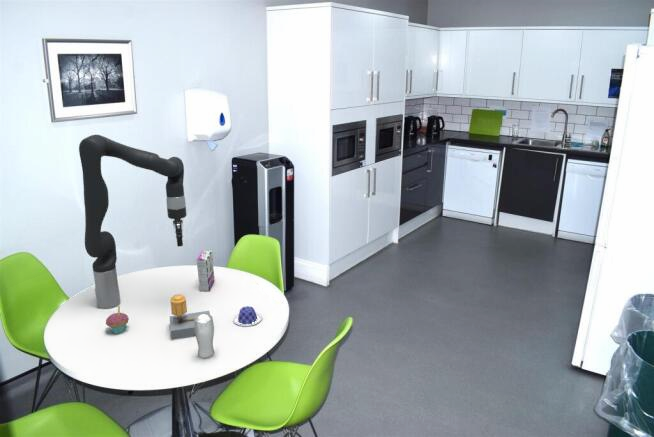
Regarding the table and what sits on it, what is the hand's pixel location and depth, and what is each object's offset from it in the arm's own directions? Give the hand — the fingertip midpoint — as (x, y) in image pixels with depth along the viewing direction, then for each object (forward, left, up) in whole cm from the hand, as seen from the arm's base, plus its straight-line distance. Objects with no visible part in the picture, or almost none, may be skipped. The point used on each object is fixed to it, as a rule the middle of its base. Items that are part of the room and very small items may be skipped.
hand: (179, 242), depth 221 cm
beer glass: (+5, -41, -30) cm, 51 cm away
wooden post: (-3, -21, -26) cm, 34 cm away
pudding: (+24, -20, -31) cm, 44 cm away
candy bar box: (+11, +17, -30) cm, 36 cm away
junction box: (+1, -21, -30) cm, 37 cm away
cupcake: (-27, -13, -30) cm, 43 cm away
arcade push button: (-3, -21, -22) cm, 30 cm away
